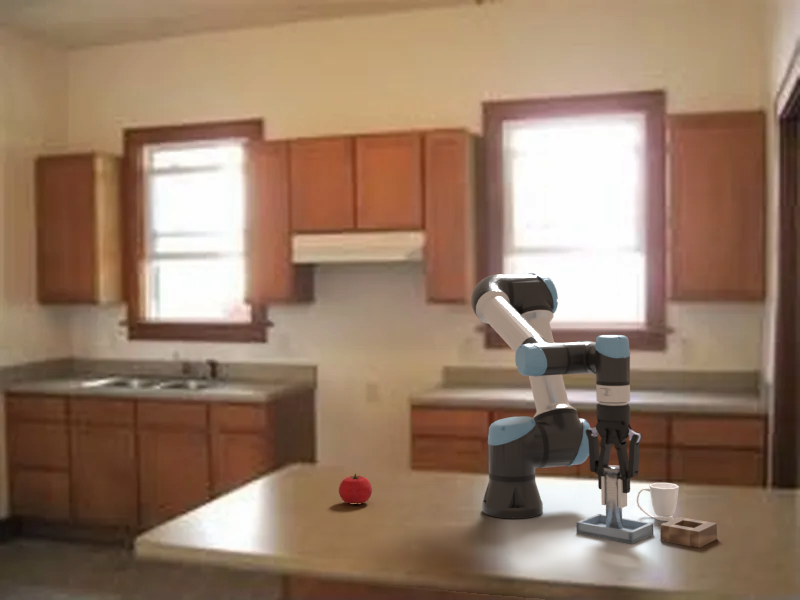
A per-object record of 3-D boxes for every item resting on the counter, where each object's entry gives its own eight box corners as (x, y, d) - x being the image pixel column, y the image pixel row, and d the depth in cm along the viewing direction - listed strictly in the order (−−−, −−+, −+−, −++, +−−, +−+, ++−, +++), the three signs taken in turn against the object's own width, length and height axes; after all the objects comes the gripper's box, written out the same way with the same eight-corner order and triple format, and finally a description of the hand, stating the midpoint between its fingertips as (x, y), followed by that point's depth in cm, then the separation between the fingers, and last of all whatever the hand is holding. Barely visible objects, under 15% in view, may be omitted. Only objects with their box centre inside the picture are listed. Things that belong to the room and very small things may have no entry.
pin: (608, 524, 214) (607, 464, 214) (628, 527, 211) (627, 466, 211) (600, 529, 210) (599, 468, 210) (620, 532, 207) (619, 470, 207)
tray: (576, 533, 212) (576, 522, 212) (599, 524, 219) (598, 513, 219) (631, 544, 202) (631, 532, 202) (653, 534, 210) (653, 523, 210)
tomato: (378, 502, 245) (378, 472, 245) (359, 509, 238) (359, 478, 238) (351, 498, 250) (351, 469, 250) (332, 505, 242) (331, 475, 242)
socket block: (660, 540, 205) (660, 524, 205) (678, 532, 212) (678, 516, 211) (699, 547, 199) (699, 531, 199) (716, 538, 205) (716, 523, 205)
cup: (677, 523, 219) (677, 489, 219) (634, 519, 223) (634, 486, 223) (681, 516, 225) (680, 483, 225) (639, 513, 229) (638, 480, 229)
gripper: (572, 401, 213) (574, 502, 214) (638, 407, 202) (639, 514, 202) (589, 398, 219) (591, 497, 219) (654, 404, 208) (655, 507, 208)
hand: (614, 505), depth 211 cm, fingers closed on pin, 4 cm apart
